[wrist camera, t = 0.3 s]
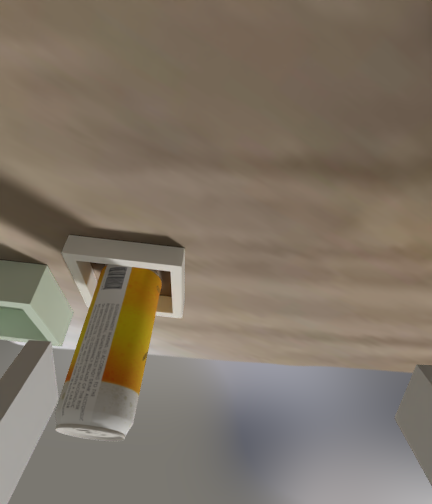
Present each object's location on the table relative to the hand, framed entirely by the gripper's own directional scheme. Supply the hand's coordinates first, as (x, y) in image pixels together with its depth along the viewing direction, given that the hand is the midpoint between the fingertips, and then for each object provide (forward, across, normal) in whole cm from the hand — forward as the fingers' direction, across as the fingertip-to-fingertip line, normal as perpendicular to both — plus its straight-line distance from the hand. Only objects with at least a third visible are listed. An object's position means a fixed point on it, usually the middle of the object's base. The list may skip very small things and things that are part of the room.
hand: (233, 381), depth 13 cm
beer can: (+23, -8, -8) cm, 25 cm away
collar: (+22, -8, -8) cm, 25 cm away
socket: (+26, -23, -13) cm, 37 cm away
